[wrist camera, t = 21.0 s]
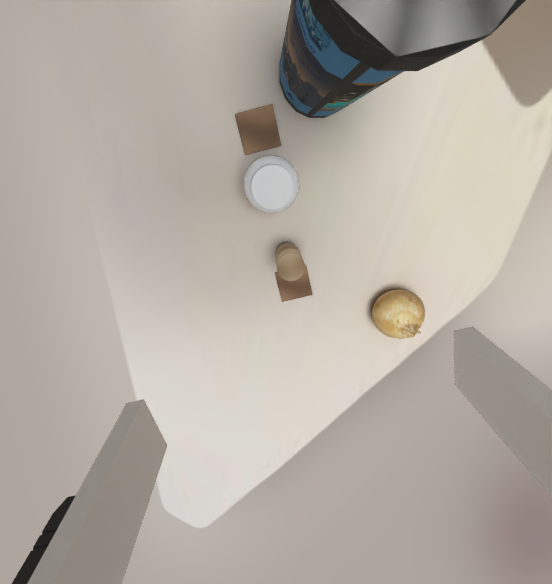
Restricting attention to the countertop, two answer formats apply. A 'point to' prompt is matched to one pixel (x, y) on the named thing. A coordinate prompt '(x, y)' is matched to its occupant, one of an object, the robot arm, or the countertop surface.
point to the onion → (398, 314)
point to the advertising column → (373, 44)
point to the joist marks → (257, 137)
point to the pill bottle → (271, 184)
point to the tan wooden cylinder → (289, 262)
